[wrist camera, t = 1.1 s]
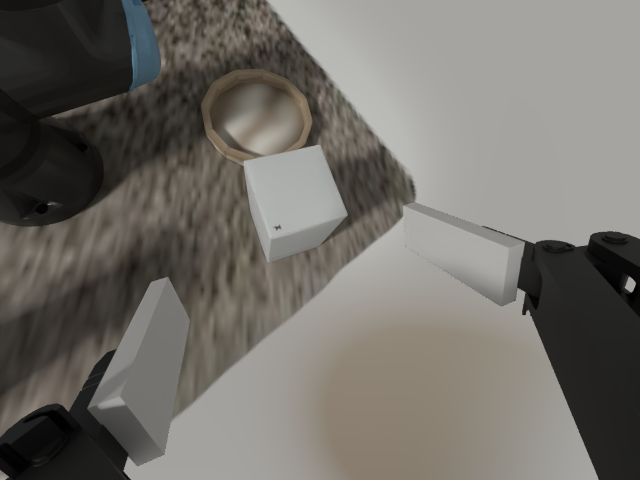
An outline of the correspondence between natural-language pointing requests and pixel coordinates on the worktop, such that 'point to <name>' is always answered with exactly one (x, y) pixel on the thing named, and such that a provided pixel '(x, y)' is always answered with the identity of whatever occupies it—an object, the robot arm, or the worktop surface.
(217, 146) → the tan plate
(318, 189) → the supplement box
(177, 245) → the worktop surface
